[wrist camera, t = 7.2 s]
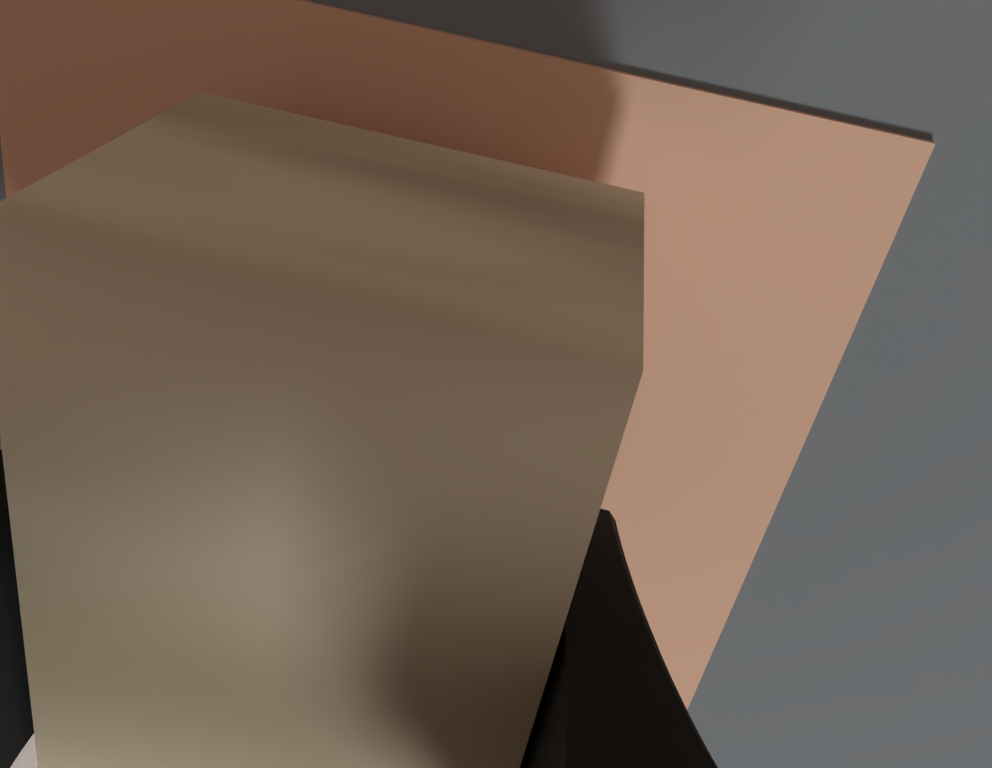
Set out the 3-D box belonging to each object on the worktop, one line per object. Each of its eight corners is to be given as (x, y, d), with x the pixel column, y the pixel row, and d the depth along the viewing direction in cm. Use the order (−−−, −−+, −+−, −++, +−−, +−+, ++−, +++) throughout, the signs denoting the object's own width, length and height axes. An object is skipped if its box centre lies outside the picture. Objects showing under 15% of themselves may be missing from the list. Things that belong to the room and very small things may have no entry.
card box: (494, 729, 15) (449, 996, 11) (190, 654, 15) (53, 896, 11) (644, 193, 10) (642, 371, 7) (199, 91, 10) (-27, 215, 7)
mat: (2416, -1165, 6) (2615, -1278, 5) (930, 856, 17) (941, 893, 17) (-591, -1703, 6) (-719, -1864, 6) (-106, 603, 18) (-132, 629, 17)
